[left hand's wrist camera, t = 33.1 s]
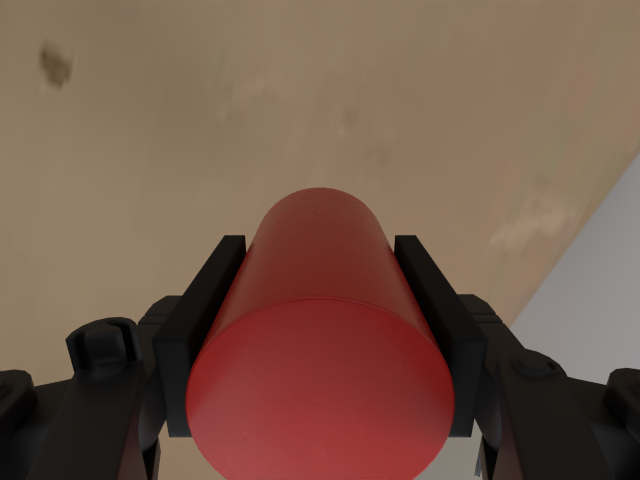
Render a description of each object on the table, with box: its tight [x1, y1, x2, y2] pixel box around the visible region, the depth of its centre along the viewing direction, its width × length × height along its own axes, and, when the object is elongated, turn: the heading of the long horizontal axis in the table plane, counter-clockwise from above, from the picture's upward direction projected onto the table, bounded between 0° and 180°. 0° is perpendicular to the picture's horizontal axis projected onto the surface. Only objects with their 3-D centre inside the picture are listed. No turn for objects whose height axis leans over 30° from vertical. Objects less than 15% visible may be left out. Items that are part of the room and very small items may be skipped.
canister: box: [185, 188, 455, 480], centre depth 12 cm, size 6×6×9 cm
